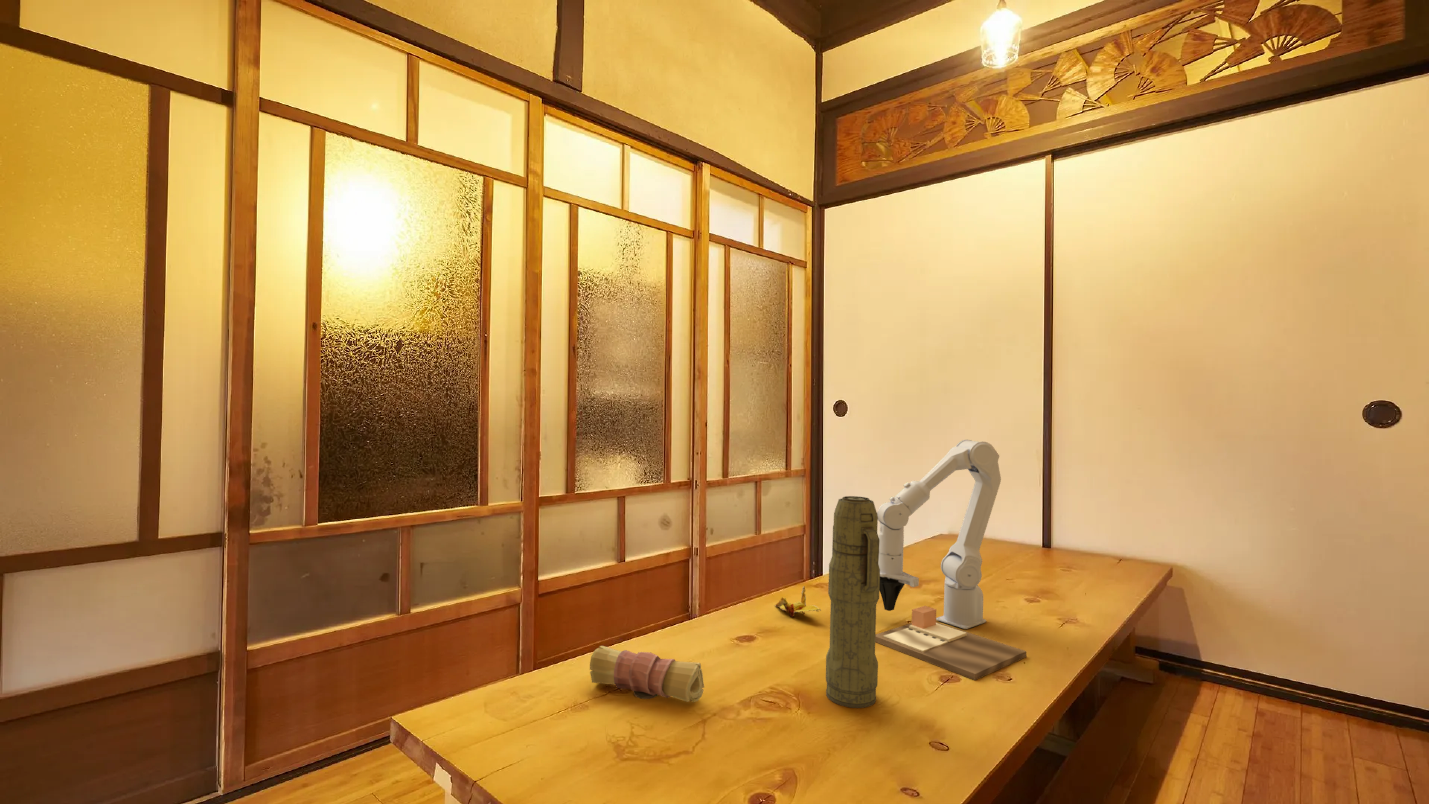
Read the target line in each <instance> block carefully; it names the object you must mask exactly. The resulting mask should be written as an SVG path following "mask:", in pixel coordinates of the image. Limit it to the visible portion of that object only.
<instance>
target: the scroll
mask: <svg viewBox="0 0 1429 804" xmlns="http://www.w3.org/2000/svg"><path fill="white" fill-rule="evenodd" d="M589 670H590V672H589V675H590V681H591V683H593V684H606V685H614V686H616V688H617V689H623V690H631V691H632V692H633V695H634V697H636V698H637V699H643V700H649V699H654V698H655V697H656V698H657V696H660V697H663V698H667V699H668V698H670V697H672V698H674V699H678V700H681V701H684V702H687V703H689V702H691V703H695V702H698V701H699V700H700V699H701V698H702V696H703V694H704V688H705V683H704V674H703V669H702V665H701V662H695V661H694V662H691V661H677V660H676V659H675V658H661V657H659V656H658V655H657V654H655V653H652V652H647V651H638V652H637V653H635V652H633V651H630V650H627V649H624V650H622V651H621V650H617V649H614V648H611V647H608V646H604V645H599V646H598V648H596V649H595V650H593V652H592V654H591V657H590V661H589Z"/></svg>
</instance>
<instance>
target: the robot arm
mask: <svg viewBox="0 0 1429 804" xmlns="http://www.w3.org/2000/svg"><path fill="white" fill-rule="evenodd" d="M999 460H1000V454H999V453H998V452H997V449H995V447H994V446H993V445H992V444H991V443H989V442H987V441H978V440H977V441H976V440H972V439H962V440H961V441H959V442H958V443H957V444H956V445H955V446H952V447H951V448H950V449H949V450H948V452H947V453H946V454H945V455H944V456H943V457H942V458H941V459H940V460H939V461H938V462H937V463H936V465H934V466H933V467H932V468H931V469H930V470H929V471H928V472H927V473H925V475H924V476H923V477H922V478H921V479H920V480H911V481H910V482H908V481H907V482H905V483H904V484H903V487H904V488H902V490H900V491H899V492H898V493H896V494H895V495H894V496H891V497H890V498H889V499H888V500H889V501H888V502H883V503H882V504H881V505H880V506H879V507H878V510H877V511H876V512H877V516H878V522H879V534H878V537H879V540H880V541H879V561H878V565H879V568H880V588H879V594H880V595H881V599H882V600H881V601H882V602H883V609H884V610H885V611H888V612H891V611H894V610H895V607H896V603H897V600H898V597H899V595H900V592H901V591H902V589H903V588H904V586H905V585H908V586H910V587H911V588H915V587H919V584H920V583H919V581H920V580H919V579H920V578H919V577H917V576H915V575H914V576H913V575H912V574H910V573H907V572H905V571H904V570H903V569H904V544H905V543H904V538H905V535H904V534H905V533H904V532H905V529H904V528H905V526H907V525H908V524H909V523H908V522H909V517H910V516H911V515H913V514H914V513H915V512H916V511H917V510H919V509H920V508H921V507H922V506H923V505H924V504H925V503H926V502H927V501H928V500H930V496H931V491H933V490H934V489H935V488H936V487H938V485H939V484H940V483H942V482H943V481H944V480H946V479H947V478H948V477H950V476H951V475H952V474H953V473H954V472H956V471H963V470H968V472H969V473H970V475H971V476H972V478H973V479H974V485H973V489H972V491H971V495H970V498H969V501H968V505H967V508H966V510H965V513H964V516H963V520H962V523H961V527H960V529H959V533H958V535H957V539H956V541H955V543H953V544H952V545H950V547H949V550H948V552H947V554H946V555H945V556H944V557H943V558H942V560H941V563H940V570H941V572H942V574H943V575H944V576H945V579H944V586H943V587H944V588H943V589H944V593H943V595H944V597H943V615H941V616H938V617H937V616H936V621H938V622H940V623H941V622H942V623H943V624H944V623H945V624H946V625H947V624H948V625H949V626H954V627H957V628H959V629H962V630H968V629H971V628H973V627H974V628H975V627H976V626H979V625H982V624H984V623H987V619H984V594H983V590H982V588H981V587H980V586H979V584H980V582H981V580H982V576H983V575H982V564H983V558H982V555H981V552H980V549H981V546H982V542H983V539H984V536H985V533H986V529H987V527H988V524H989V521H990V518H991V517H990V516H991V514H992V511H993V507H994V504H995V501H996V498H997V495H998V492H999V489H1000V484H1001V480H1002V477H1001V476H1002V475H1001V471H1000V467H999Z"/></svg>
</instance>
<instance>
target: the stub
mask: <svg viewBox="0 0 1429 804" xmlns="http://www.w3.org/2000/svg"><path fill="white" fill-rule="evenodd" d="M936 618H937V608H934V607H930V606H927V605H923V606H919V607H916V608H913V609H911V623H912V625H910V626H909V628H910V629H913V630H915V631H919V632H921V633H924V634H928V635H930V636H934V637H937V638H938V639H942V640H945V641H947V642H951V641H953V640H956V639H959V638H961V637H964V636H967V633H966V632H967V631H966V632H963V631H964V630H963V631H959V630H960V629H959V630H956V629H957V628H956V629H953V628H954V627H953V628H950V627H951V626H950V627H947V626H948V625H947V626H944V625H945V624H944V625H941V624H942V623H941V624H938V623H939V622H938V623H936V622H937V620H936Z"/></svg>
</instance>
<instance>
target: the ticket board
mask: <svg viewBox="0 0 1429 804" xmlns="http://www.w3.org/2000/svg"><path fill="white" fill-rule="evenodd" d="M936 623H938V624H941V625H944V626H947V627H950V628H953V629H956V630H959V631H963V632H966V633H967V636H964V637H961V638H959V639H956V640H953V641H951V642H947V641H945V640H942V639H938V638H937V637H934V636H930V635H928V634H924V633H921V632H919V631H915V630H913V629H910V628H909V626H910V625H912V622H910V623H907V624H904V625H901V626H898V627H895V628H894V627H893V628H892V629H888V630H885V631H882V632H878V633H876V634H875V643H877V644H880V645H883V646H884V647H886V648H890V649H893V650H894V651H898V652H901V653H903V654H905V655H908V656H911V657H914V658H916V659H918V660H921V661H924V662H927V663H929V664H932V665H934V666H937V667H939V668H942V669H945V670H947V671H949V672H953V673H954V674H955V673H956V674H957V675H960V676H963V677H966V678H968V679H971V680H974V681H976V680H979V679H981V678H983V677H985V676H987V675H989V674H991V673H995V672H997V671H999V670H1000V669H1003V668H1005V667H1007V666H1010V665H1011V664H1014V663H1016V662H1018V661H1021V660H1022V659H1024V658H1026V657H1027V650H1024V649H1021V648H1017V647H1015V646H1012V645H1008V644H1005V643H1004V642H999V641H997V640H992V639H989V638H987V637H984V636H981V635H979V634H978V635H977V634H975V633H972V632H969V631H966V630H964V629H960V628H956V627H952V626H951V625H947V624H944V623H941V622H939V621H938V622H937V621H936Z"/></svg>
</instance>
